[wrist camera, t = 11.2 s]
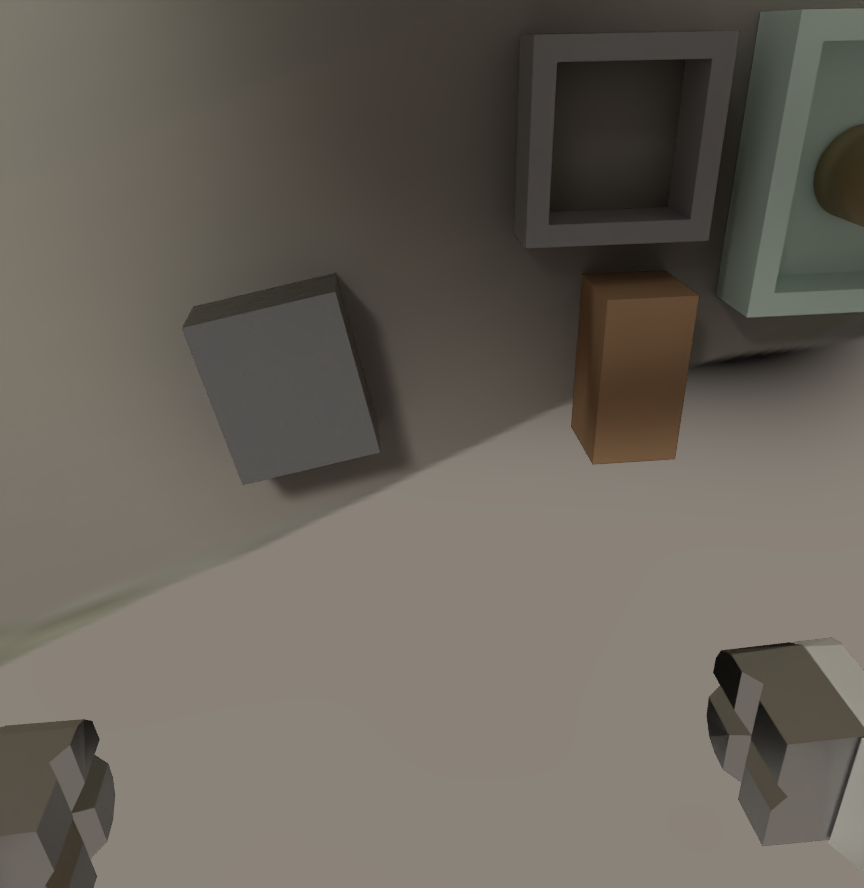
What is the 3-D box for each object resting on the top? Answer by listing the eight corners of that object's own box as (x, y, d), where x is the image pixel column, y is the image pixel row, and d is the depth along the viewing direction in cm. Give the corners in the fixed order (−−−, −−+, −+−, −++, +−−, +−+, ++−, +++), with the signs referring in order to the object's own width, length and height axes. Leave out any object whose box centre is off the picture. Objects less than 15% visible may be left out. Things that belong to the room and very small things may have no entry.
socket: (520, 34, 24) (534, 34, 22) (710, 31, 24) (739, 30, 22) (514, 234, 26) (525, 248, 25) (684, 227, 27) (708, 240, 25)
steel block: (195, 303, 27) (181, 328, 25) (335, 270, 27) (335, 291, 25) (250, 451, 30) (243, 484, 27) (377, 421, 30) (380, 452, 27)
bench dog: (582, 274, 27) (607, 300, 25) (665, 270, 28) (699, 295, 25) (571, 426, 30) (592, 464, 27) (646, 422, 30) (674, 459, 28)
